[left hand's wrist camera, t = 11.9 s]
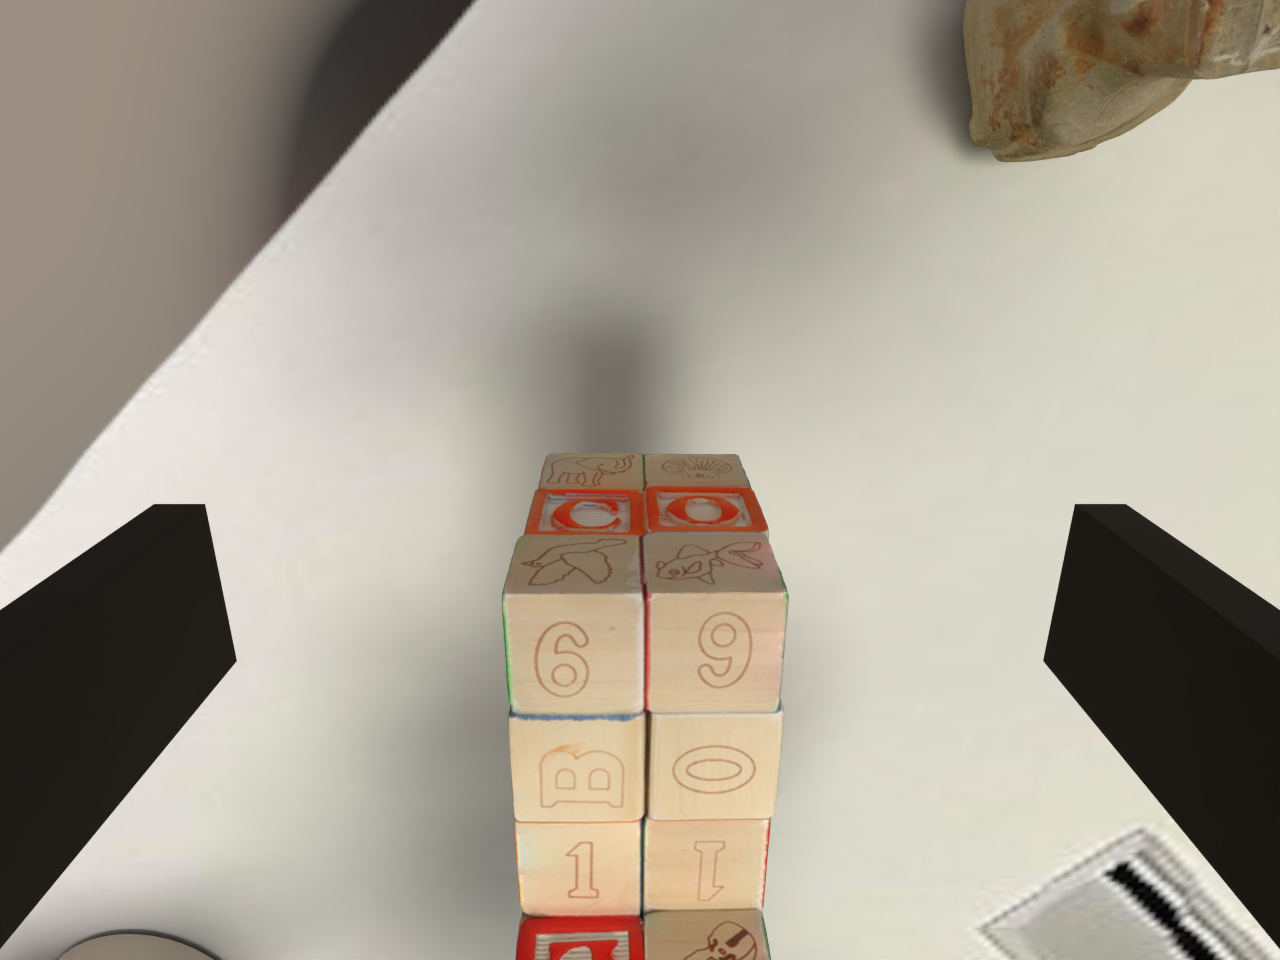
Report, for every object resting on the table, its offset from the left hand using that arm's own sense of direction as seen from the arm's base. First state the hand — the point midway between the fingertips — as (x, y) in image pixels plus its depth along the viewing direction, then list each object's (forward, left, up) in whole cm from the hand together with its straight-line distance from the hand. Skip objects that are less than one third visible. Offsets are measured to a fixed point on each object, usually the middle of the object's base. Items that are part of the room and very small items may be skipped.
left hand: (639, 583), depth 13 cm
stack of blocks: (+9, +9, -13) cm, 18 cm away
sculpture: (-18, +4, -27) cm, 32 cm away
